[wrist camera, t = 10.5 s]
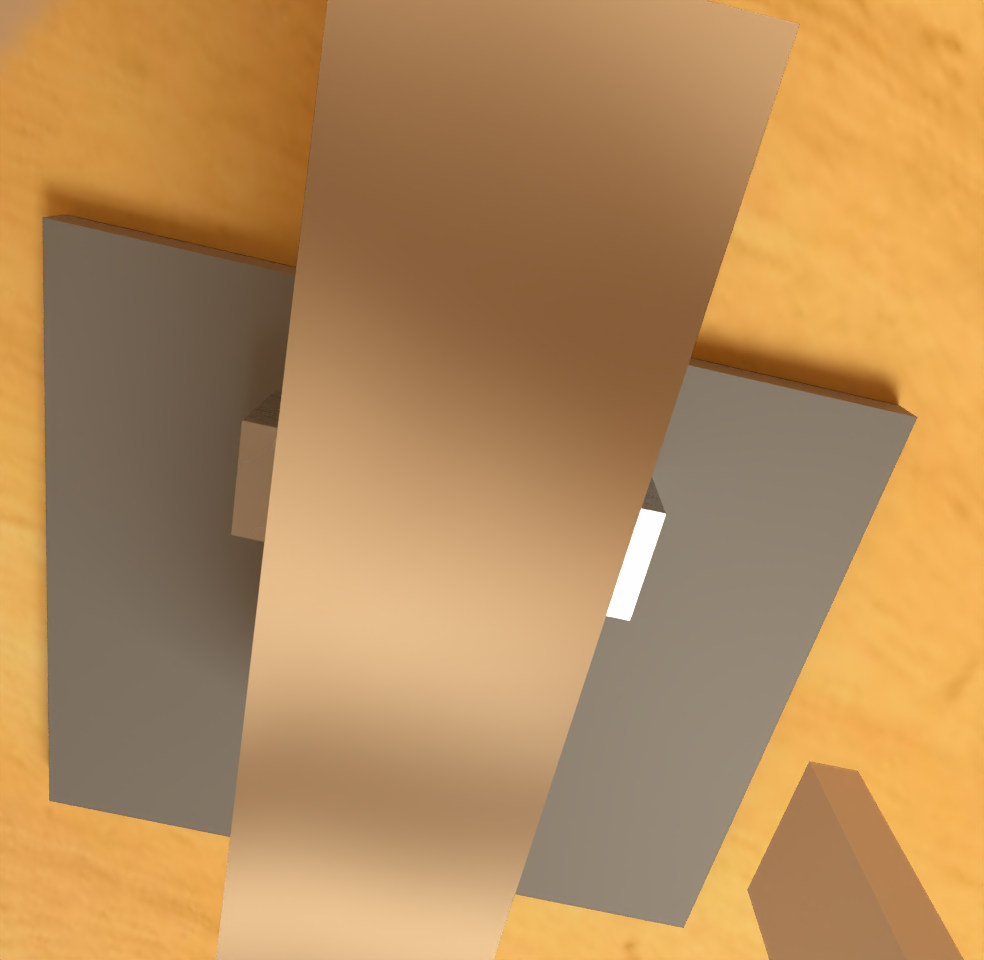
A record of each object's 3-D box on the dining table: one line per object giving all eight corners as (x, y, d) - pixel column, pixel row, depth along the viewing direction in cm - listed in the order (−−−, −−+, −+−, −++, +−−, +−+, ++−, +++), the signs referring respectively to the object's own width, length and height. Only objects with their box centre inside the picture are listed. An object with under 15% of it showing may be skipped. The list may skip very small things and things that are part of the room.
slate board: (66, 778, 27) (49, 800, 26) (65, 214, 19) (42, 217, 18) (678, 902, 28) (683, 927, 27) (899, 405, 20) (917, 417, 19)
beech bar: (415, 7, 12) (337, -92, 7) (695, 77, 12) (799, 24, 7) (275, 909, 19) (195, 1144, 15) (446, 943, 20) (419, 1186, 15)
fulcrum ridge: (264, 493, 21) (178, 599, 16) (275, 389, 20) (187, 469, 15) (619, 570, 21) (646, 698, 16) (650, 473, 20) (689, 578, 15)
